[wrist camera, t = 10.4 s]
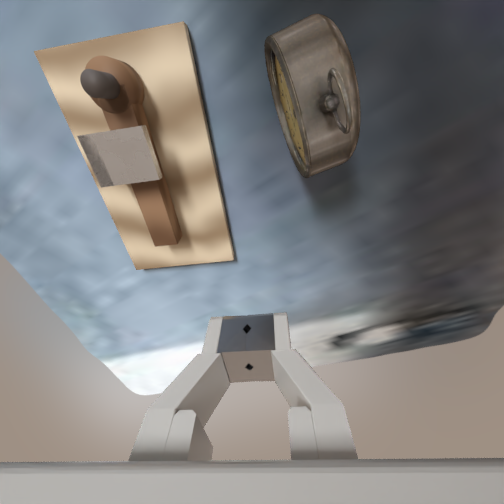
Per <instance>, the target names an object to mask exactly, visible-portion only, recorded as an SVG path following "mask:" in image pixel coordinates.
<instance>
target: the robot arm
mask: <svg viewBox="0 0 504 504" xmlns="http://www.w3.org/2000/svg"><path fill="white" fill-rule="evenodd" d="M248 381H275V383H276V384H277V386H278V388H279V389H280V391H281V393H282V394H283V396H284V397H285V399H286V401H287V402H288V404H289V406H290V407H291V408H290V410H289V411H288V421H289V434H290V448H291V460H211V459H212V451H213V446H212V444H211V442H210V440H209V438H208V436H207V434H206V432H205V430H204V429H203V428H204V426H205V425H206V423H207V421H208V420H209V418H210V416H211V415H212V413H213V411H214V409H215V408H216V407H217V405H218V403H219V402H220V400H221V398H222V397H223V395H224V394H225V392H226V390H227V389H228V387H229V386H230V383H233V382H248ZM0 504H504V458H455V459H454V458H449V459H448V458H445V459H358V457H357V453H356V449H355V446H354V442H353V438H352V434H351V431H350V427H349V424H348V420H347V416H346V412H345V408H344V405H343V403H342V402H341V401H340V400H339V399H338V398H337V396H336V395H335V394H334V393H333V392H332V391H331V390H330V388H329V387H328V386H327V385H326V384H325V383H324V382H323V380H322V379H321V378H320V377H319V376H318V375H317V374H316V372H315V371H314V370H313V369H312V368H311V367H310V365H309V364H308V363H307V362H306V361H305V360H304V359H303V357H302V356H301V355H300V354H299V353H298V352H297V351H296V349H291V342H290V334H289V326H288V318H287V313H274V315H273V313H270V314H257V315H248V316H224V317H211V319H210V320H209V324H208V328H207V333H206V337H205V341H204V345H203V350H202V354H198V355H197V356H196V357H195V358H194V359H193V360H192V361H191V362H190V363H189V364H188V365H187V367H186V368H185V369H184V370H183V371H182V372H181V373H180V374H179V375H178V376H177V377H176V379H175V380H174V381H173V382H172V383H171V384H170V385H169V386H168V387H167V388H166V389H165V391H164V392H163V393H162V394H161V395H160V396H159V397H158V398H157V399H156V400H155V402H154V403H153V404H152V405H151V406H150V407H149V408H148V409H147V411H146V414H145V417H144V419H143V422H142V425H141V428H140V430H139V433H138V436H137V439H136V441H135V444H134V447H133V449H132V452H131V455H130V458H129V461H100V462H99V461H94V462H93V461H91V462H0Z"/></svg>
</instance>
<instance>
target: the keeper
mask: <svg viewBox="0 0 504 504" xmlns="http://www.w3.org/2000/svg"><path fill="white" fill-rule="evenodd" d="M77 137H78V139H79V141H80V144H81V146H82V148H83V150H84V152H85V154H86V157H87V159H88V161H89V163H90V165H91V167H92V169H93V172H94V174H95V176H96V178H97V180H98V182H99V185H100V187H101V188H102V187H109V186H116V185H124V184H131V183H139V182H146V181H153V180H160V179H161V178H162V174H161V170H160V167H159V164H158V161H157V158H156V155H155V152H154V149H153V146H152V143H151V139H150V136H149V133H148V130H147V127H146V125H142V126H136V127H130V128H124V129H117V130H111V131H105V132H98V133H92V134H86V135H80V136H77Z"/></svg>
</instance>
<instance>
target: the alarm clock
mask: <svg viewBox="0 0 504 504" xmlns="http://www.w3.org/2000/svg"><path fill="white" fill-rule="evenodd" d="M265 59H266V66H267V72H268V78H269V81H270V86H271V91H272V95H273V99H274V103H275V107H276V110H277V114H278V117H279V121H280V124H281V127H282V130H283V133H284V136H285V139H286V142H287V145H288V147H289V150H290V153H291V155H292V158H293V160H294V163H295V165H296V167H297V169H298V170H299V172H300V173H301V175H302V176H303V177H305V178H309V177H310V176H312V175H315V174H317V173H320V172H323V171H325V170H328V169H330V168H333V167H336V166H338V165H341V164H343V163H345V162H346V161H347V160H349V158H350V157H351V156H352V154H353V152H354V150H355V148H356V145H357V142H358V138H359V132H360V117H361V115H360V97H359V90H358V83H357V78H356V73H355V69H354V65H353V61H352V58H351V55H350V52H349V49H348V46H347V44H346V42H345V40H344V38H343V36H342V34H341V32H340V30H339V29H338V27H337V26H336V25H335V23H334V22H333V21H332V20H330V19H329V18H328V17H326V16H324V15H321V14H313V15H310V16H308V17H306V18H304V19H302V20H300V21H298V22H296V23H294V24H292V25H290V26H288V27H286V28H284V29H282V30H280V31H278V32H276V33H274V34H272V35H270V36H268V37H267V38H266V40H265Z"/></svg>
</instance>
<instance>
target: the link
mask: <svg viewBox="0 0 504 504" xmlns="http://www.w3.org/2000/svg"><path fill="white" fill-rule="evenodd" d="M80 82H81V85H82V88H83V89H84V91H85V92H86V93H87V94H88V95H89V96H90V97H91V98H92V100H93V101H94V102H95V103H96V104H97V105H98V106H99V107H100V108H101V109H102V111H103V114H104V116H105V119H106V121H107V124H108V127H109V129H110V131H111V130H117V129H124V128H130V127H136V126H142V125H146V127H147V130H148V133H149V136H150V139H151V143H152V146H153V149H154V152H155V155H156V158H157V161H158V164H159V167H160V170H161V174H162V178H161V179H160V180H153V181H146V182H139V183H131V186H132V189H133V191H134V194H135V196H136V199H137V202H138V204H139V207H140V209H141V212H142V214H143V217H144V220H145V222H146V225H147V227H148V230H149V233H150V235H151V238H152V240H153V243H154V246H155V247H157V246H167V245H177V244H178V243H179V241H180V239H181V238H182V236H183V235H182V231H181V228H180V225H179V222H178V218H177V215H176V212H175V209H174V205H173V202H172V199H171V196H170V193H169V189H168V186H167V183H166V180H165V176H164V173H163V170H162V167H161V163H160V160H159V157H158V154H157V150H156V147H155V144H154V141H153V138H152V134H151V131H150V128H149V125H148V121H147V118H146V115H145V112H144V108H143V105H142V104H143V101H144V86H143V83H142V80H141V78H140V76H139V75H138V73H137V72H136V71H135V70H134V68H132V67H131V66H130V65H129V64H127V63H125V62H123V61H120V60H117V59H114V58H111V57H108V56H96V57H93V58H92V59H91V60H90V61H89V62H88V63H87V65H86V67H85V70H84V71H83V72H82V73H81V76H80Z"/></svg>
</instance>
